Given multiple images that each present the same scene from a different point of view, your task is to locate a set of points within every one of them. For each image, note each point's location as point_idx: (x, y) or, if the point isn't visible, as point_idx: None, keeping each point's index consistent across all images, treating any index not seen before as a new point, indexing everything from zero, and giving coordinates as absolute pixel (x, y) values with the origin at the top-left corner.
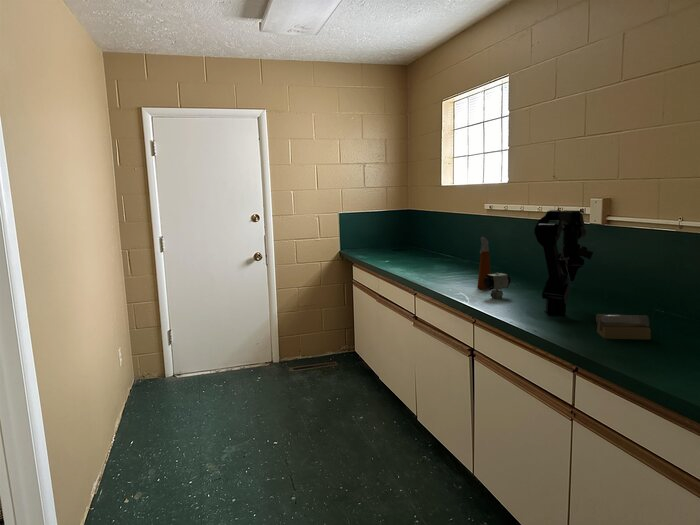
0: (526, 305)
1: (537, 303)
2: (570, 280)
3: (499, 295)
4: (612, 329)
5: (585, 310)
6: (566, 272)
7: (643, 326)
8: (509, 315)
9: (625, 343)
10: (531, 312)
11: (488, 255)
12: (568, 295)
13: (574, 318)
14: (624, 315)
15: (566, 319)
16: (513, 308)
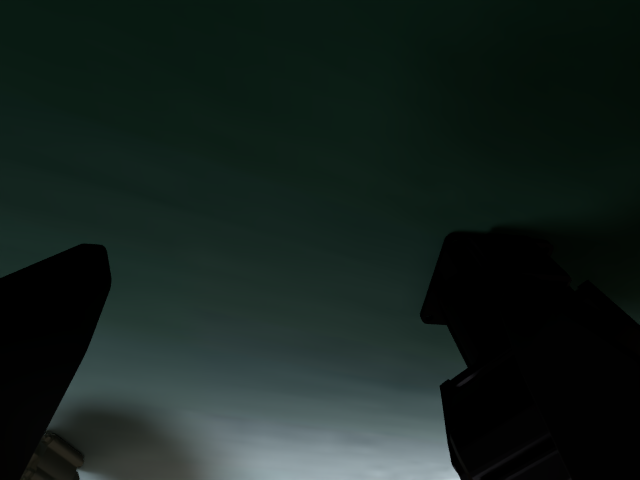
0: (241, 360)
1: (178, 295)
2: (505, 314)
3: (57, 460)
4: None
5: (429, 15)
6: (60, 317)
7: None
8: (440, 448)
9: None
10: (407, 369)
11: None
12: (609, 300)
13: (606, 203)
14: None
15: (603, 254)
16: (311, 420)
